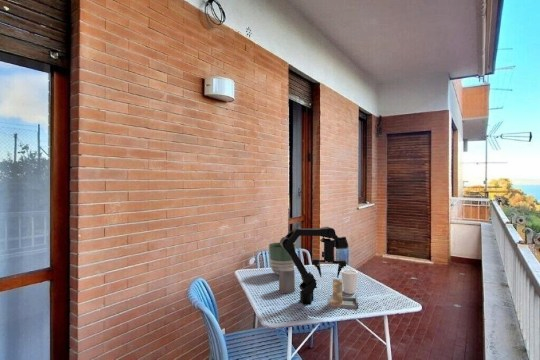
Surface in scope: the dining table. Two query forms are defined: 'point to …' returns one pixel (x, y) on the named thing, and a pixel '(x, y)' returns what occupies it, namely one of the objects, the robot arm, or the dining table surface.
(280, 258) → the planter
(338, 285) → the beech block
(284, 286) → the pillar candle
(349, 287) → the foam cup
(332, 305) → the tray
